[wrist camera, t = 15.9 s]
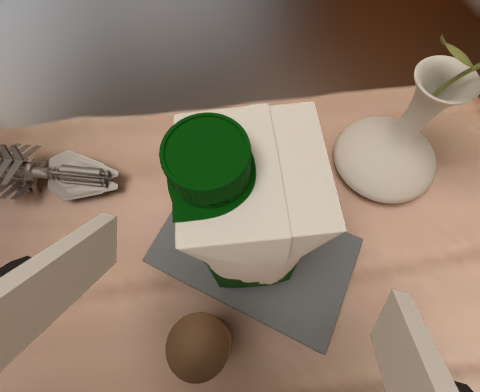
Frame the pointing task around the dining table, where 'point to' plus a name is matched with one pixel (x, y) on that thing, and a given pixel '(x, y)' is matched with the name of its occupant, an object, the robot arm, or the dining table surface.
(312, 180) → the soya milk
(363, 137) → the flower in vase
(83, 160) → the spaceship
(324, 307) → the slate mat
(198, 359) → the wooden pepper mill
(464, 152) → the dining table surface
